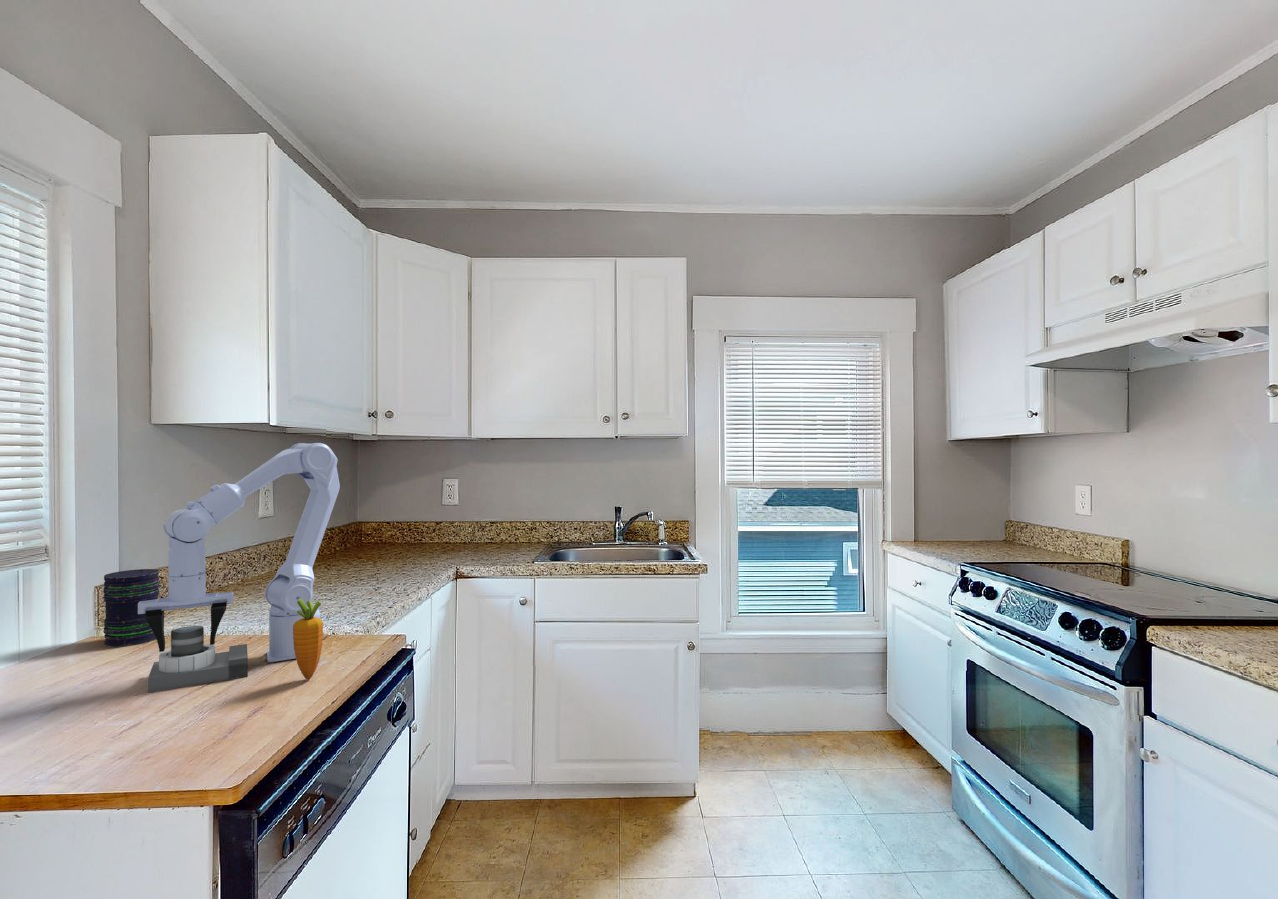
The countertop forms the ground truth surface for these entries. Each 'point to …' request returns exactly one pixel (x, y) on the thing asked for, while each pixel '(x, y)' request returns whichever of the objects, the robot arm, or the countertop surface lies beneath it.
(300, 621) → the carrot
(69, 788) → the countertop surface
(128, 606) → the storage jar
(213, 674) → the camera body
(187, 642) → the lens
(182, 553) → the robot arm
